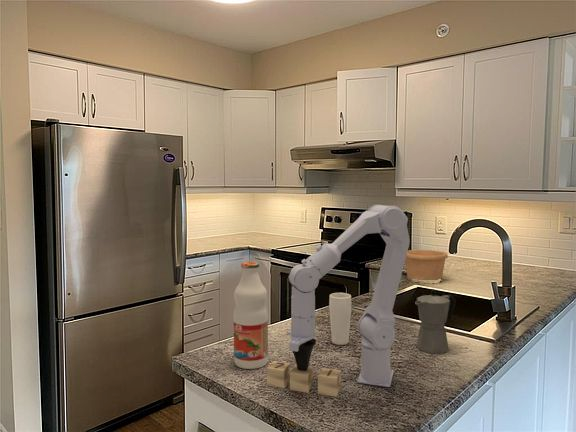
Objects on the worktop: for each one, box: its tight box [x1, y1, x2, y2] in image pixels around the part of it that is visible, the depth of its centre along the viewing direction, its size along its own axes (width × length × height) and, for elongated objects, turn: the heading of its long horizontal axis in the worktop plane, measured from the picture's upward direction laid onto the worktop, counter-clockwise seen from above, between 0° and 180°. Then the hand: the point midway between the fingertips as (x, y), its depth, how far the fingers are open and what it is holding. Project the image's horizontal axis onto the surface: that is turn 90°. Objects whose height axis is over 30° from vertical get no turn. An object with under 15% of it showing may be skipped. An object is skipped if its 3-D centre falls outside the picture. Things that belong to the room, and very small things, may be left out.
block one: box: [317, 367, 342, 397], centre depth 104 cm, size 4×4×5 cm
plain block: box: [289, 364, 314, 393], centre depth 106 cm, size 4×4×4 cm
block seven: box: [266, 360, 291, 389], centre depth 108 cm, size 4×4×5 cm
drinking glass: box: [328, 292, 352, 346], centre depth 135 cm, size 7×7×15 cm
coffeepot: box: [414, 288, 457, 355], centre depth 130 cm, size 15×9×18 cm, turn 115°
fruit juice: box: [233, 261, 269, 370], centre depth 119 cm, size 9×9×28 cm
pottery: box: [405, 249, 449, 281], centre depth 222 cm, size 22×22×14 cm
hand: (302, 369), depth 106 cm, fingers closed, pressing on plain block
